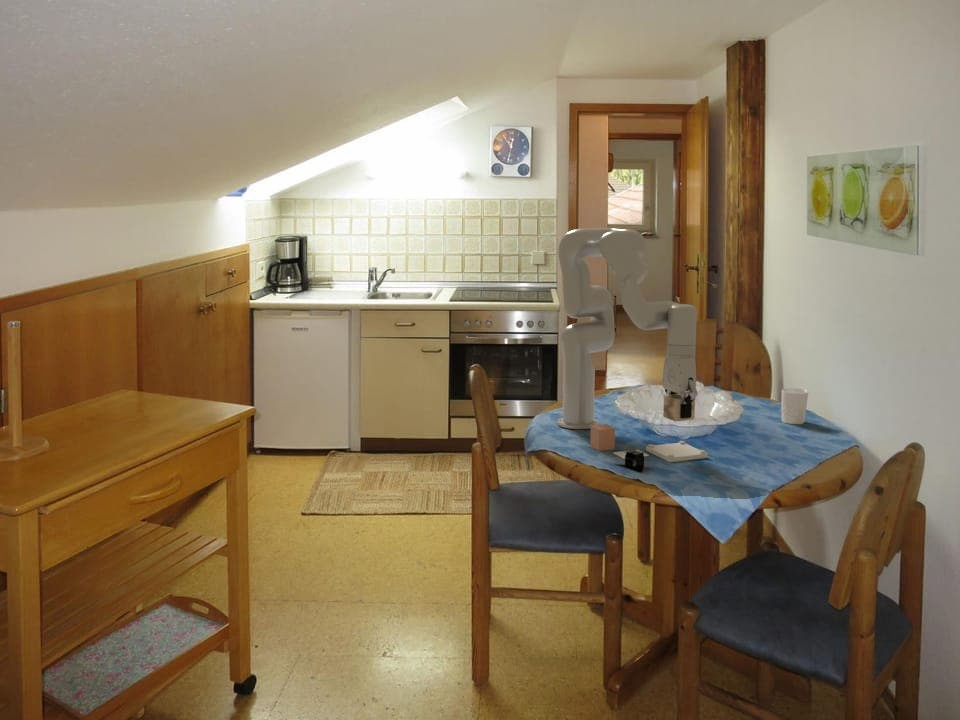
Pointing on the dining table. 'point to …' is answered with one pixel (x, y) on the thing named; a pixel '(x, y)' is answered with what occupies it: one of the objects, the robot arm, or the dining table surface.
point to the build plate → (676, 451)
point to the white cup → (794, 405)
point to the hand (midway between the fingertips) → (678, 414)
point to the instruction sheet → (623, 453)
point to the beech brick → (675, 407)
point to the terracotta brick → (602, 437)
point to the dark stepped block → (636, 465)
